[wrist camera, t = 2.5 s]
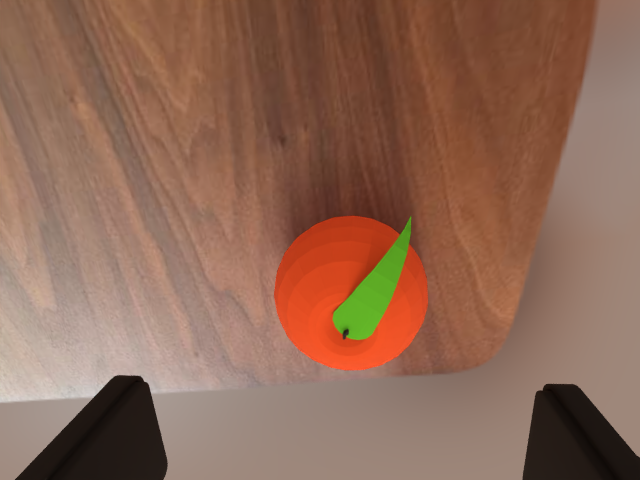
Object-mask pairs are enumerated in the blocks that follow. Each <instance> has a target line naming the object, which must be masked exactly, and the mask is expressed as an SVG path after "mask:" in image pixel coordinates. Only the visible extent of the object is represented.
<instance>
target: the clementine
mask: <svg viewBox="0 0 640 480" xmlns="http://www.w3.org/2000/svg"><path fill="white" fill-rule="evenodd" d="M410 235H411V216H410V218H409V220H408V222H407V224H406V226H405V228H404V230H403V231H402V233H401V234H399V233H397V232H396V231H395V230H394V229H392V228H391V227H390V226H388V225H386V224H383V223H381V222H379V221H377V220H374V219H372V218H366V217H359V216H342V217H333V218H330V219H328V220H325V221H322V222H319V223H317V224H315V225H314V226H312V227H311V228H309V229H308V230H307V231H305V232H304V233H302V234H301V235H300V236H299V237H297V238H296V239H295V241H294V242H293V243H292V244H291V246H290V247H289V248H288V249H287V251H286V252H285V254H284V256H283V258H282V261H281V263H280V265H279V268H278V271H277V275H276V282H275V291H274V298H275V304H276V309H277V314H278V317H279V319H280V322H281V324H282V326H283V328H284V330H285V332H286V334H287V336H288V338H289V339H290V340H291V341H292V342H293V344H294V345H295V346H296V347H297V348H298V349H299V350H300V351H301V352H303V353H304V354H305V355H307V356H308V357H310V358H311V359H312V360H314V361H317V362H319V363H321V364H324V365H326V366H328V367H331V368H336V369H342V370H364V369H368V368H372V367H376V366H380V365H382V364H384V363H386V362H388V361H390V360H392V359H394V358H396V357H397V356H398V355H399V354H400V353H401V352H403V351H404V350H405V349H406V348H407V347H408V346H409V345H410V343H411V342H412V340H413V338H414V337H415V335H416V334H417V332H418V330H419V329H420V327H421V325H422V324H423V321H424V317H425V314H426V310H427V306H428V295H427V277H426V274H425V271H424V268H423V265H422V262H421V260H420V258H419V256H418V255H417V254H416V252H415V251H414V249H413V248H412V247H411V245H410V244H409V240H410Z"/></svg>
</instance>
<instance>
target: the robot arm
mask: <svg viewBox="0 0 640 480" xmlns="http://www.w3.org/2000/svg"><path fill="white" fill-rule="evenodd" d="M167 464H168V463H167V457H166V453H165V450H164V445H163V441H162V437H161V433H160V429H159V425H158V421H157V417H156V413H155V408H154V404H153V400H152V396H151V392H150V388H149V385H148V383H147V382H144V380H143V378H142V377H141V376H126V375H118V376H115V377H113V378H112V379H111V380H110V381H109V382H108V383H107V384H106V385H105V386H104V387H103V388H102V389H101V390H100V392H99V393H98V394H97V395H96V396H95V397H94V398H93V399H92V400H91V401H90V402H89V403H88V404H87V405H86V406H85V407H84V408H83V409H82V411H80V413H78V415H77V416H76V417H75V418H74V419H73V420H72V421H71V422H70V423H69V424H68V425H67V426H66V427H65V428H64V429H63V430H62V431H61V432H60V433H59V434H58V435H57V436H56V437H55V438H54V439H53V441H52V442H51V443H50V444H49V445H48V446H47V447H46V448H45V449H44V450H43V451H42V452H41V453H40V454H39V455H38V456H37V457H36V458H35V459H34V460H33V461H32V462H31V463H30V465H29V466H28V467H27V468H26V469H25V470H24V471H23V472H22V473H21V474H20V475H19V476H18V477H17V478H16V479H15V480H163V479H164V477H165V475H166V471H167ZM523 480H640V457H638V456H636V454H635V453H634V452H633V451H632V450H631V448H630V447H629V446H628V445H627V444H626V442H625V441H624V440H623V439H622V438H621V436H619V434H618V433H617V432H616V431H615V430H614V428H613V427H612V426H611V425H610V423H609V422H608V421H607V420H606V419H605V418H604V416H603V415H602V414H601V413H600V411H599V410H598V409H597V408H596V407H595V406H594V404H593V403H592V402H591V401H590V400H589V398H588V397H587V396H586V395H585V394H584V393H583V391H582V390H581V389H580V388H579V387H578V386H576V385H574V384H546V385H545V386H544V388H543V391H537V392H536V395H535V401H534V408H533V414H532V420H531V427H530V433H529V439H528V446H527V452H526V459H525V465H524V471H523Z"/></svg>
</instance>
